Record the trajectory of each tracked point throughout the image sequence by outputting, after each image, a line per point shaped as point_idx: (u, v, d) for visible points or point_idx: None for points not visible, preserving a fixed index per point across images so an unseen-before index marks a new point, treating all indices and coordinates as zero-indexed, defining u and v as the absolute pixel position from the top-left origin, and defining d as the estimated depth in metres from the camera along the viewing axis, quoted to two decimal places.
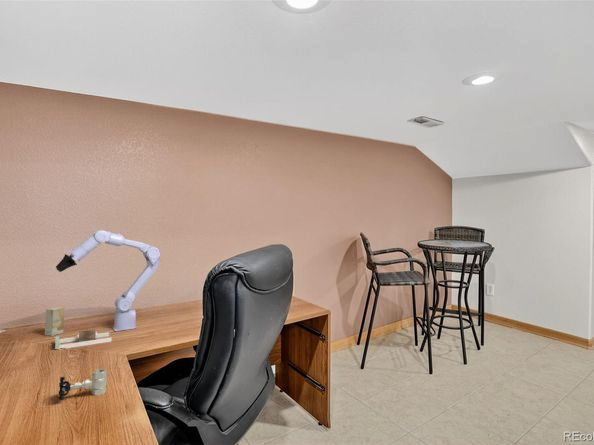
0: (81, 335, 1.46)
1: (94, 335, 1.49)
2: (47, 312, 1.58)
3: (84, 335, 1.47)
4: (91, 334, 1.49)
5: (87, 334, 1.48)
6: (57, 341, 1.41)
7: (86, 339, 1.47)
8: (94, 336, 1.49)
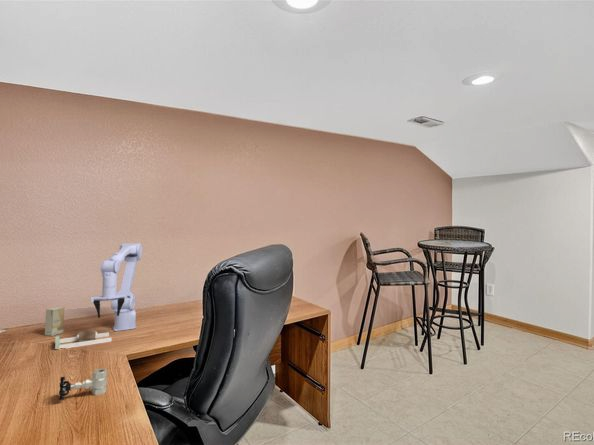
0: (81, 335, 1.46)
1: (94, 335, 1.49)
2: (47, 312, 1.58)
3: (84, 335, 1.47)
4: (91, 334, 1.48)
5: (87, 334, 1.48)
6: (57, 341, 1.41)
7: (86, 339, 1.47)
8: (94, 336, 1.49)
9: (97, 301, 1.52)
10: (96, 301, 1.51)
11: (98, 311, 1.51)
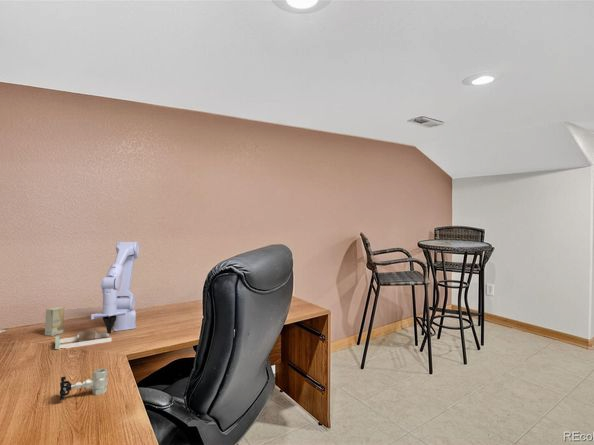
0: (81, 335, 1.46)
1: (94, 335, 1.49)
2: (47, 312, 1.58)
3: (84, 335, 1.47)
4: (91, 334, 1.48)
5: (87, 334, 1.48)
6: (57, 341, 1.41)
7: (86, 339, 1.47)
8: (94, 336, 1.49)
9: (106, 317, 1.53)
10: (96, 318, 1.51)
11: (107, 327, 1.53)
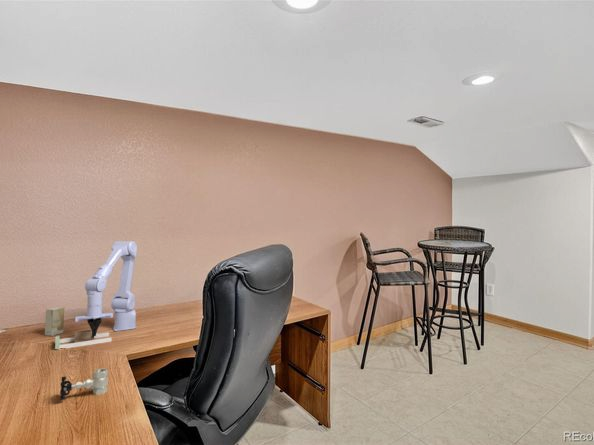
0: (76, 335, 1.45)
1: (89, 335, 1.48)
2: (47, 312, 1.58)
3: (79, 335, 1.46)
4: (86, 334, 1.47)
5: (82, 334, 1.47)
6: (57, 341, 1.41)
7: (81, 339, 1.46)
8: (89, 336, 1.48)
9: (91, 319, 1.50)
10: None
11: (92, 330, 1.50)
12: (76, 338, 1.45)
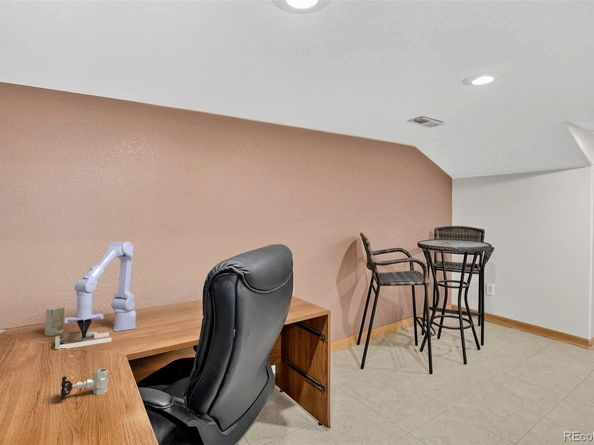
0: (65, 337, 1.43)
1: (79, 337, 1.46)
2: (47, 312, 1.58)
3: (69, 337, 1.44)
4: (76, 336, 1.45)
5: (72, 336, 1.44)
6: (57, 341, 1.41)
7: (71, 341, 1.44)
8: (79, 338, 1.46)
9: (81, 321, 1.48)
10: None
11: (82, 331, 1.47)
12: (65, 340, 1.43)
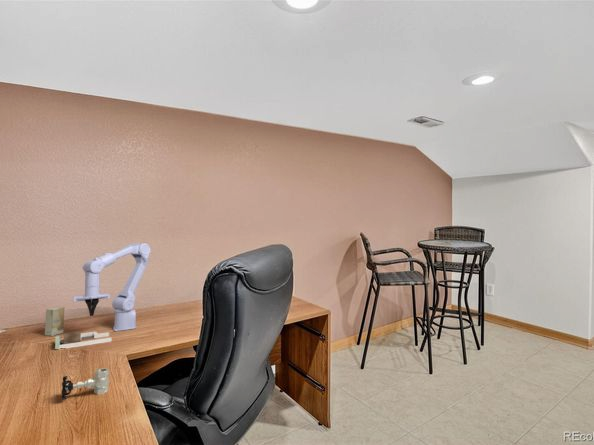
0: (65, 337, 1.43)
1: (79, 337, 1.46)
2: (47, 312, 1.58)
3: (69, 337, 1.44)
4: (76, 336, 1.45)
5: (72, 336, 1.44)
6: (57, 341, 1.41)
7: (71, 341, 1.44)
8: (79, 338, 1.46)
9: (89, 300, 1.56)
10: None
11: (90, 309, 1.55)
12: (65, 340, 1.43)
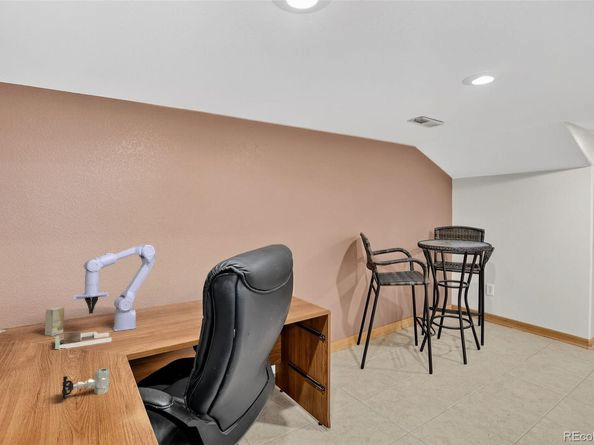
0: (65, 337, 1.43)
1: (79, 337, 1.46)
2: (47, 312, 1.58)
3: (68, 337, 1.44)
4: (76, 336, 1.45)
5: (72, 336, 1.44)
6: (57, 341, 1.41)
7: (71, 341, 1.44)
8: (79, 338, 1.46)
9: (88, 298, 1.60)
10: (78, 298, 1.58)
11: (89, 307, 1.59)
12: (65, 340, 1.43)
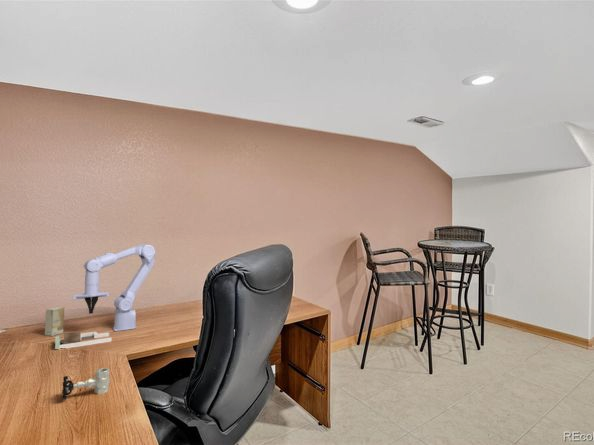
0: (65, 337, 1.43)
1: (79, 337, 1.46)
2: (47, 312, 1.58)
3: (68, 337, 1.44)
4: (76, 336, 1.45)
5: (72, 336, 1.44)
6: (57, 341, 1.41)
7: (71, 341, 1.44)
8: (79, 338, 1.46)
9: (88, 298, 1.60)
10: (78, 298, 1.58)
11: (89, 307, 1.59)
12: (65, 340, 1.43)
